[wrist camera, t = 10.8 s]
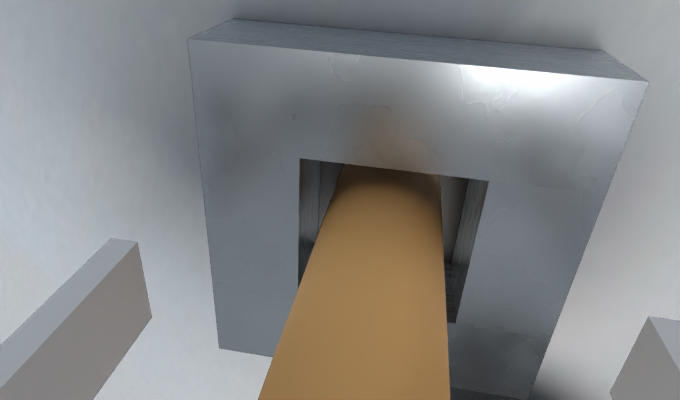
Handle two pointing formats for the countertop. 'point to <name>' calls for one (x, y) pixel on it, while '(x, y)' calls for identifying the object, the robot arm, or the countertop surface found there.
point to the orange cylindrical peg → (370, 297)
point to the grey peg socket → (408, 155)
